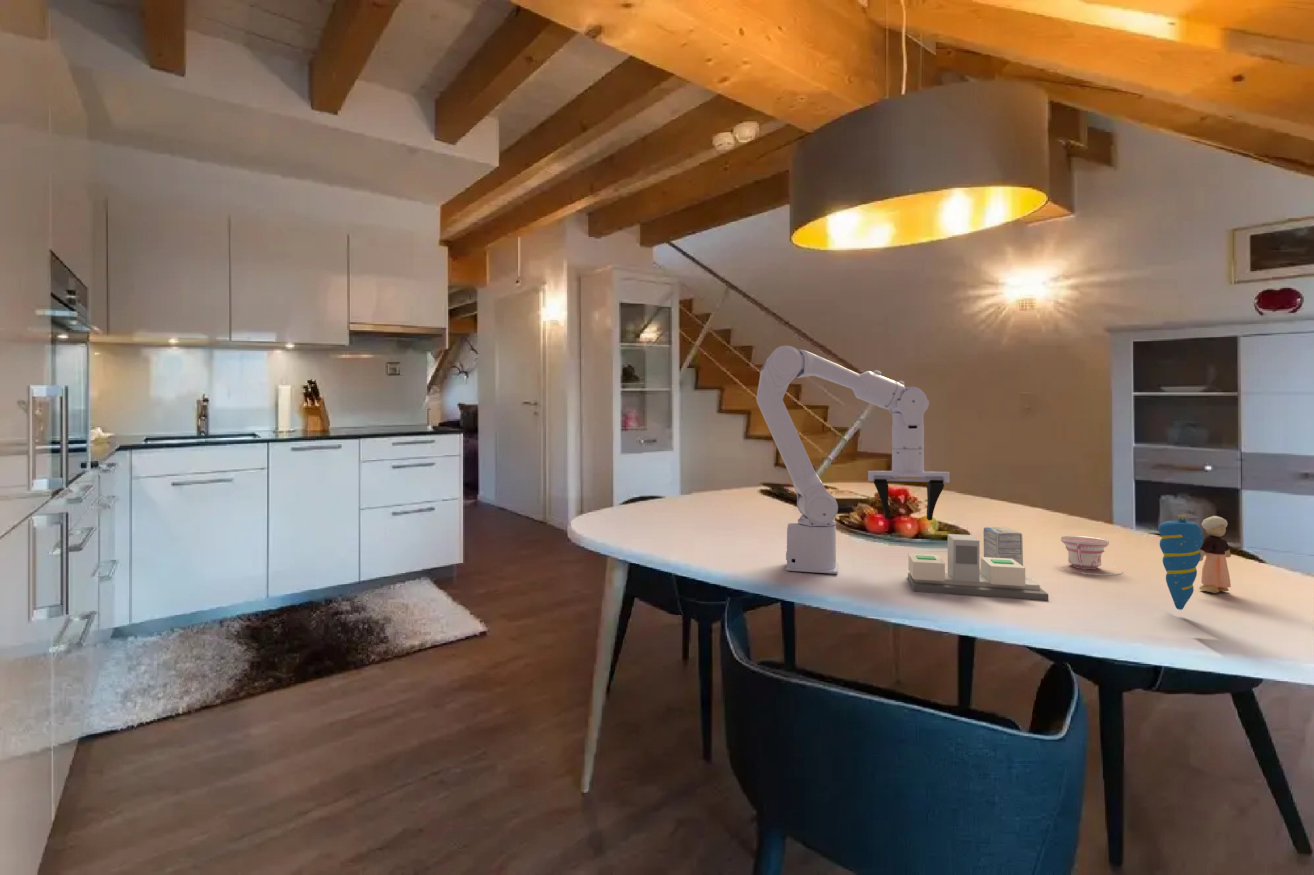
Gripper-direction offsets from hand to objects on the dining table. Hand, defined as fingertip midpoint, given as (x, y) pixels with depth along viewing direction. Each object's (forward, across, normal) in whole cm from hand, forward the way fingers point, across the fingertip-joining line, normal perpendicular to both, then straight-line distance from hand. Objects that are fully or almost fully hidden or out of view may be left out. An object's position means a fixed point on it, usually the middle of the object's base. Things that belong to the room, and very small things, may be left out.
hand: (907, 518), depth 116 cm
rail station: (+10, +8, -10) cm, 16 cm away
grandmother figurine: (+11, +49, +1) cm, 50 cm away
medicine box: (+11, +17, +3) cm, 20 cm away
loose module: (+9, +8, -10) cm, 15 cm away
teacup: (+11, +34, +13) cm, 38 cm away
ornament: (+11, +37, -15) cm, 41 cm away
